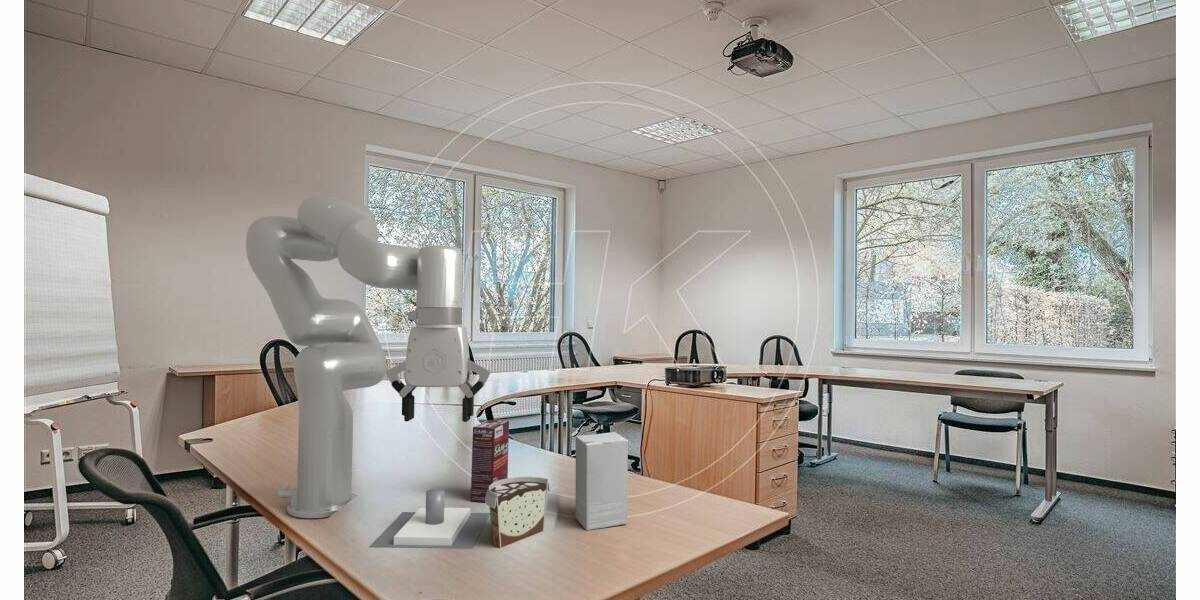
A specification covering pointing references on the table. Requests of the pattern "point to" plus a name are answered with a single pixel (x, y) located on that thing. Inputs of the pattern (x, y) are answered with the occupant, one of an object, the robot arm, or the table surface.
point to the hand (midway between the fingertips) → (437, 420)
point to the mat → (462, 541)
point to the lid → (433, 523)
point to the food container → (517, 508)
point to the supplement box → (488, 457)
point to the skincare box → (601, 480)
